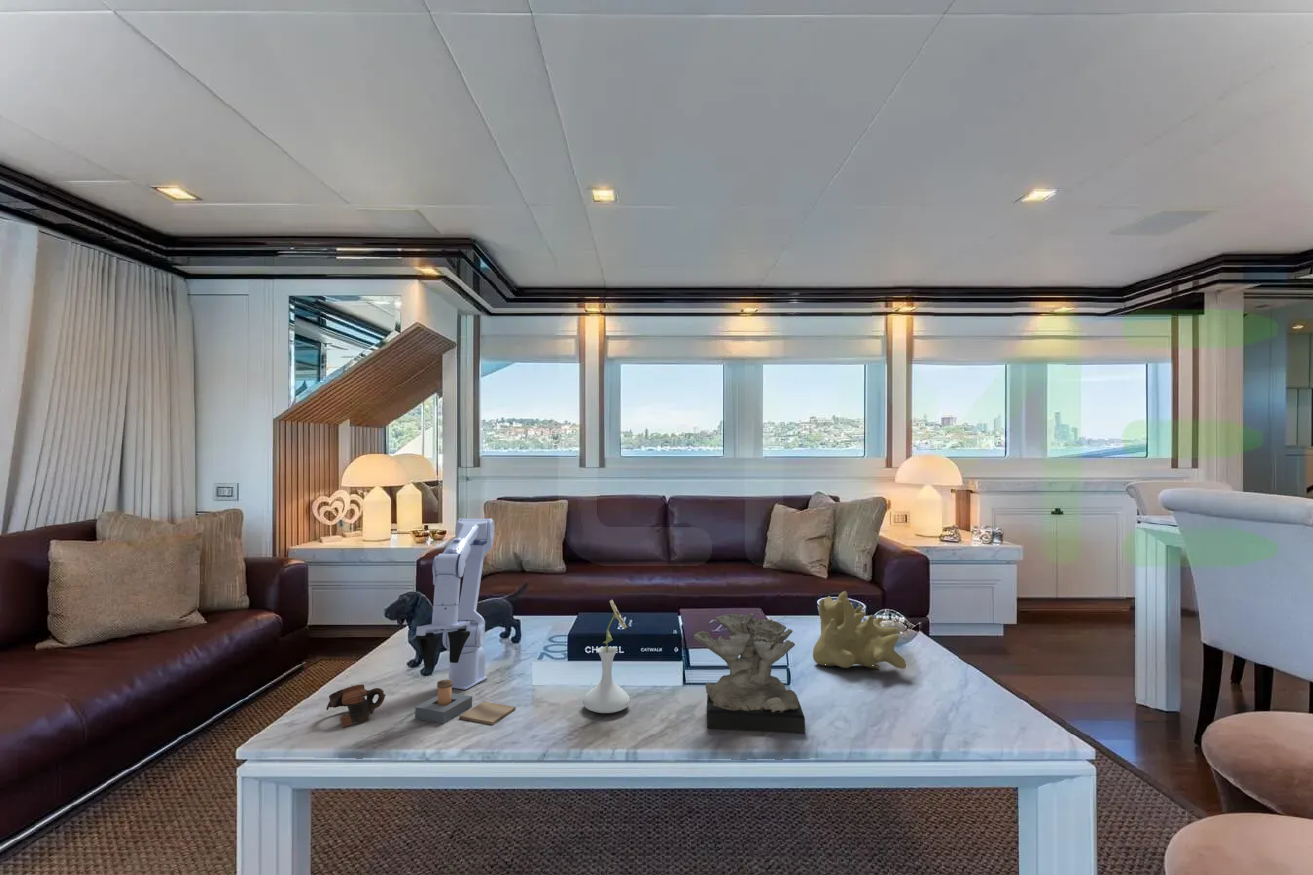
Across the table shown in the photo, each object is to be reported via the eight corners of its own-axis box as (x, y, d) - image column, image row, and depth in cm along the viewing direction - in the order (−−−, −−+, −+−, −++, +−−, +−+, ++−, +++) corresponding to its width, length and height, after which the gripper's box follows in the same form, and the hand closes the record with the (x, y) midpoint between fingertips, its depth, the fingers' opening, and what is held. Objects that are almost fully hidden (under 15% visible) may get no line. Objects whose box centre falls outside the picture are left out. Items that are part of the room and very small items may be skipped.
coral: (690, 727, 132) (691, 629, 133) (696, 693, 152) (697, 608, 153) (805, 735, 128) (805, 635, 129) (795, 699, 148) (795, 612, 150)
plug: (443, 708, 140) (444, 678, 140) (454, 710, 139) (455, 680, 139) (433, 714, 137) (434, 683, 137) (445, 716, 136) (446, 685, 136)
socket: (444, 702, 144) (444, 691, 144) (471, 706, 141) (472, 696, 141) (414, 718, 135) (415, 706, 135) (443, 723, 132) (444, 712, 132)
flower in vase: (623, 720, 135) (624, 609, 136) (575, 715, 137) (577, 606, 138) (636, 698, 148) (637, 597, 149) (592, 694, 150) (594, 594, 151)
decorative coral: (783, 614, 187) (848, 567, 185) (824, 663, 190) (887, 617, 188) (806, 659, 162) (881, 605, 159) (852, 715, 165) (926, 662, 163)
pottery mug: (326, 733, 127) (320, 695, 131) (335, 736, 135) (329, 699, 139) (386, 711, 132) (379, 674, 135) (392, 714, 140) (384, 680, 143)
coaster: (483, 703, 143) (483, 701, 143) (515, 709, 140) (515, 706, 140) (459, 718, 135) (459, 715, 135) (492, 724, 132) (492, 722, 132)
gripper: (433, 607, 133) (428, 671, 130) (480, 603, 145) (477, 661, 142) (412, 606, 136) (406, 668, 133) (459, 602, 149) (455, 659, 146)
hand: (441, 664), depth 138 cm, fingers open, 7 cm apart
